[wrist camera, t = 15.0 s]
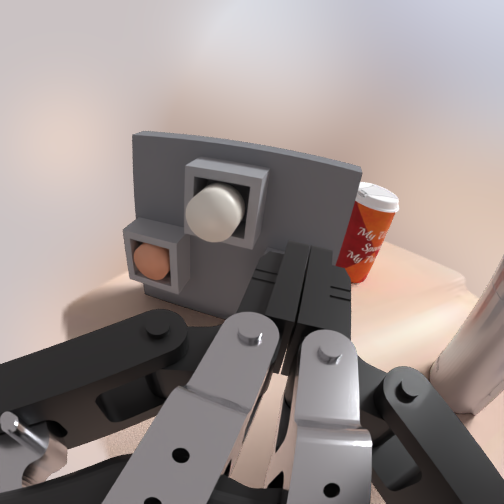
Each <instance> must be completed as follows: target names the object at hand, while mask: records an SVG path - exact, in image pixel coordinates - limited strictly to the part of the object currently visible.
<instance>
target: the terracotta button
mask: <svg viewBox="0 0 504 504" xmlns="http://www.w3.org/2000/svg"><path fill="white" fill-rule="evenodd" d="M134 262H135V264H136V266H137V268H138V270H139V271H140V272H141V273H142V274H143V275H145V276H146V277H148V278H150V279H153V280H160V279H163V278H164V277H165V276H166V274H167V273H168V272H169V271H170V256H169V249H167V248H163V247H159V246H156V245H152V244H148V243H144V242H143V243H142V244H141V245H140V246H139V247H138V248H137V249H136V250H135V252H134Z"/></svg>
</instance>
